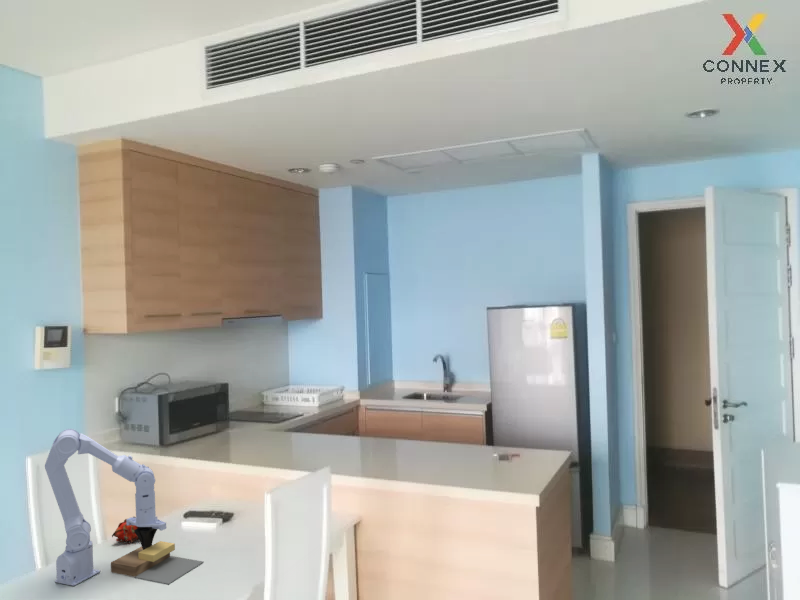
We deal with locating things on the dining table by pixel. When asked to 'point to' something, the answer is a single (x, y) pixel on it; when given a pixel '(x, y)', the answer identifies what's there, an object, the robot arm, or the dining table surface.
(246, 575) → the dining table surface
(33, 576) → the dining table surface
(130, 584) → the dining table surface
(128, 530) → the dragon fruit
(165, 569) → the mat
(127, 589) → the dining table surface
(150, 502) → the robot arm
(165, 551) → the yellow rectangular block
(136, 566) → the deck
